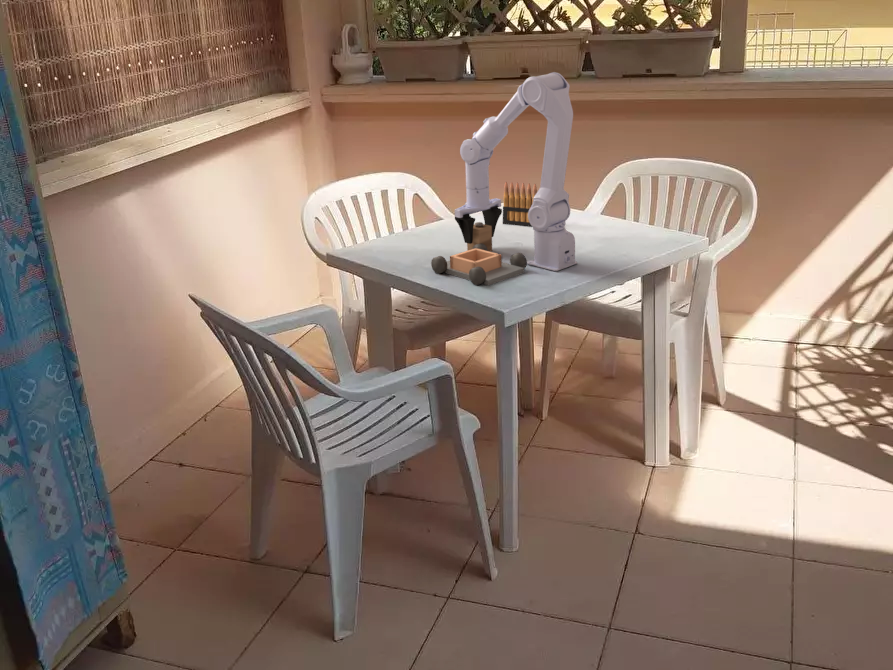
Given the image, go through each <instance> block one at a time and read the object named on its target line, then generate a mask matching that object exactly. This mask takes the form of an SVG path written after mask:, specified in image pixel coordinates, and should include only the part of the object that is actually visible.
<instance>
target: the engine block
mask: <svg viewBox="0 0 893 670" xmlns="http://www.w3.org/2000/svg"><path fill="white" fill-rule="evenodd" d="M480 243H483V244H484V245H485V246H486V247H487V249H488V251H489V252H492V251H493V237H492V226H489V225H485V223H483V222H480V221H479V222H474V226H473V241H472V243H471V244H469V243H466V247H467V248H466V249H467V250H466V251H468V250H471V249H472V248H473V246H474V245H476V244H480Z"/></svg>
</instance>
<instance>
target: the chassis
mask: <svg viewBox="0 0 893 670" xmlns="http://www.w3.org/2000/svg"><path fill="white" fill-rule="evenodd" d="M527 262H528V260H527V258H526V255H525V254H524V253H521V252H516V253H514V254H512V255H511V256H510V259H509V263H506V262H504V261H502V254H500V253H497V252H492V251H488V249H487V247H486V246H485V245H484V244H483V243H480V244H476V245H474V246H473V248H472V249H471V250H468V251H467V250H466V251H463V252H460V253H456V254H451V255H450V256H449V260H448V261H447V260H446V258H445V257H444V256H443V255H438V256H435V257H433V258H432V259H431V261H430V265H431V269H432V270H433V272H434V273H435V274H437V275H440V274H443V273H444V274H448V275H451V276H455V277H458V278H462V279H465V280H468V281H470V282H471V284H473V286H474V285H475V286H479V285H484V286H490V285H493V284H494V285H495V284H496V283H497V284H498V283H499V282H502V281H504V280H507V279H510V278H514V277H515V276H519V275H521V274H524V273H525V269H526V267H528V266H527V265H528V264H527Z"/></svg>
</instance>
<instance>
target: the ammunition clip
mask: <svg viewBox="0 0 893 670" xmlns="http://www.w3.org/2000/svg"><path fill="white" fill-rule="evenodd" d="M503 186H504V187H503V206H502V225H507V226H508V225H509V226H519V227H528V228H533V227H532V226H531V224H530V222H529V220H528V211H529V209H530V207H531V206H532V204H533V198H534V196H535V195H536V193H537V192H538V189H537V188H538V186H537V183H534V184H533V187H532V186H531V184H530V183H527V188H526V187H525V183H524V182H522V183H521V189H520V185H519V183H518V182H516V183H515V187H514V183H513V181H511V182H510V184H509V185H508V182H507V181H505V183H504V185H503Z"/></svg>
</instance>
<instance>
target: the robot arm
mask: <svg viewBox="0 0 893 670" xmlns="http://www.w3.org/2000/svg"><path fill="white" fill-rule="evenodd" d="M570 86H571V85H570V83H569V82H568V81H567V80H566V79H565V77H564V76H563V75H562V74H561V73H559V72H555V71H553V72H550V73H547V74H542V75H537V76H534V75H533V76H529V77H528V78H526V79H525V80H524V81H523V83H522V84H520V85H519V86H518V87H517V91H516V92H515V93H514V94H513V96H512V97H511V98H510V100H509V101H508V102H507V104H506V105H505V106H504V107H503V109H502V110H501V111H500V112H499V113H498V115H497V116H494V115H493V116H490V117H487V118H484V120H483V121H482V122H483V124H482V126H480V128H479V129H478V130H477V131H474V132H473V134H472V138H471V139H470V138H468V139H464V140H463V141H462V143H461V145H460V148H459V154H460V157H461V160H463V162H465V163H464V165H465V189H466V190H465V191H466V193H465V194H466V202H464V205H462V206H460V207H457V208H455V209H454V220H455V222H456V223H457V225H458V227H459V228H460V230H461V234H462V237H463V240H464V243H466V244H467V243H469V244H471V243H472V241H473V226H474V225H475V223H476V222H475V221H476V218H475V217H472V216H471V215H473V214H476V213H480V212H481V213H482V216H483V220H484V224H485V225H489V226H492V238H494V235H495V231H496V227H497V224H498V221H499V219H500V217H501V215H502V214H503V208H501V207H502V199H501V198H497V197H495V198H491V199H490V176H489V175H490V171H489V168H490V164H491V163H490V162H491V161H490V159H491V158H492V156H493V154H494V150H495V148H496V147H497V146H498V145H499V144H500V143H501V141H502V140H503V139H505V137H506V136H507V135H508V133H509V126H510V124H512V122H514V121H515V120H516V119H518V117H519V116H520V115H521V114H522V113H523V112H524V111H525V110H526V109H527V108H528V107H532V108H533V109H534V110H536V111H537V112H538V113H540V114H541V115H543V116H544V119H546V121H547V124H546V135H545V144H544V153H543V154H544V155H543V161H542V168H541V169H542V170H541V177H540V186H539V188H538V189H537V193H536V195H535V196H534V198H533V197H532V198H533V204H532V206H531V207H530V209H529V211H528V220H529V222H530V224H531V226H532V227H531V228H532V230H533V233H534V235H533V236H534V238H533V239H534V240H533V241H534V243H533V244H534V246H533V247H534V255H533V256H534V259H531V260H527V265H528V266H529V265H530V266H533V267H534V266H535V267H537V268H542V269H546V270H548V271H554V272H557V271H561V270H563V269H567V268H568V267H572V266H575V265H577V264H578V261H576V238H575V235H574V234H573V233H572V232H570V231H568V230H567V229H566V228H565V227H566V222H567V220H568V219H569V217H570V215H571V206H570V202H569V201H570V199H569V197H570V194H569V193H568V192H567V190H565V181H566V172H567V167H568V159H569V157H568V156H569V150H570V143H571V134H572V130H573V129H572V127H573V120H574V109H573V106H572V102H571V97H570Z"/></svg>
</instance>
